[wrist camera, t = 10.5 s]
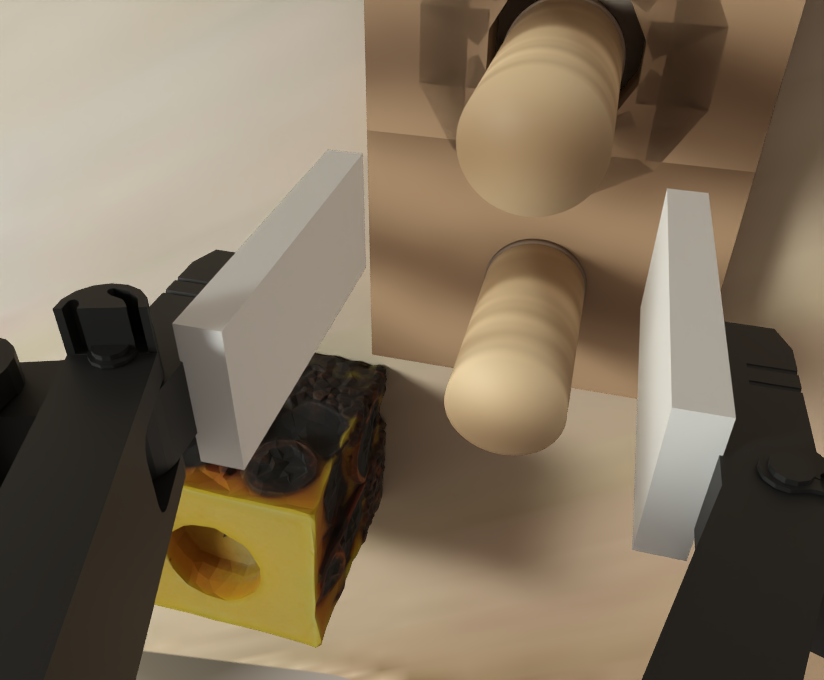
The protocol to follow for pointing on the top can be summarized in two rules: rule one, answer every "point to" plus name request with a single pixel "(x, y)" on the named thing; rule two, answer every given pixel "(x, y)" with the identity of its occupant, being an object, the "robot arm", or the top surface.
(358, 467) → the black and yellow cube
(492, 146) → the oak leg
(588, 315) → the seat board
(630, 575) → the top surface
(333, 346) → the top surface
